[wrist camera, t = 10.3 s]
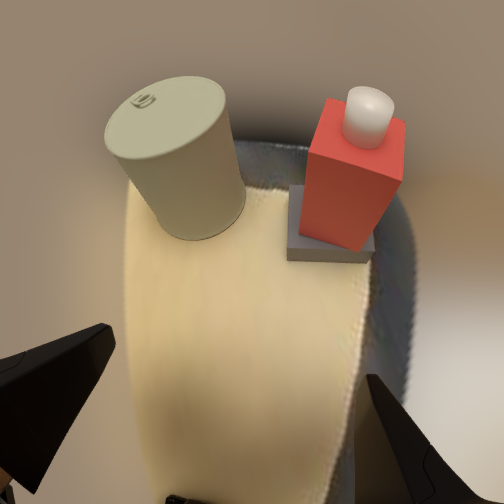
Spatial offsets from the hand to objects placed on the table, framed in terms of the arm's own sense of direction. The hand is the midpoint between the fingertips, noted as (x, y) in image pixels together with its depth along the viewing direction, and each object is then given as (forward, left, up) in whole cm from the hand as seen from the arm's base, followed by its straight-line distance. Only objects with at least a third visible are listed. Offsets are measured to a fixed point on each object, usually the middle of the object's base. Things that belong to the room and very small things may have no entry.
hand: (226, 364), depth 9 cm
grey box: (+13, -4, -14) cm, 19 cm away
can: (+15, +8, -14) cm, 22 cm away
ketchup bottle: (+13, -4, -11) cm, 17 cm away
